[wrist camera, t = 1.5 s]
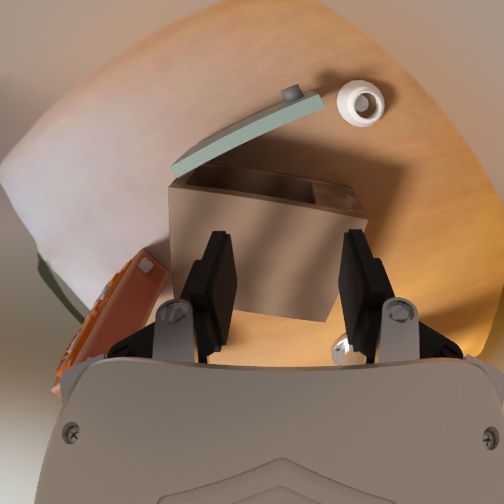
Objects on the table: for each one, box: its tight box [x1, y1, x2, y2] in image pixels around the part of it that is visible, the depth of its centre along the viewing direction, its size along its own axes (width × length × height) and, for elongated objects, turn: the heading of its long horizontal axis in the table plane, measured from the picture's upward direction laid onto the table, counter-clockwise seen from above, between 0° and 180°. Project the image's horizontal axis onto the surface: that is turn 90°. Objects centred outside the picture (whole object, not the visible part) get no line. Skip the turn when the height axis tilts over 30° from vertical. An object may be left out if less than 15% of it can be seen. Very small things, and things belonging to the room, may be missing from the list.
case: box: [168, 162, 368, 322], centre depth 31 cm, size 18×14×8 cm
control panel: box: [51, 249, 169, 398], centre depth 33 cm, size 21×7×15 cm
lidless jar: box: [337, 80, 385, 127], centre depth 23 cm, size 5×3×5 cm
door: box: [170, 84, 325, 178], centre depth 23 cm, size 14×2×6 cm, turn 118°
